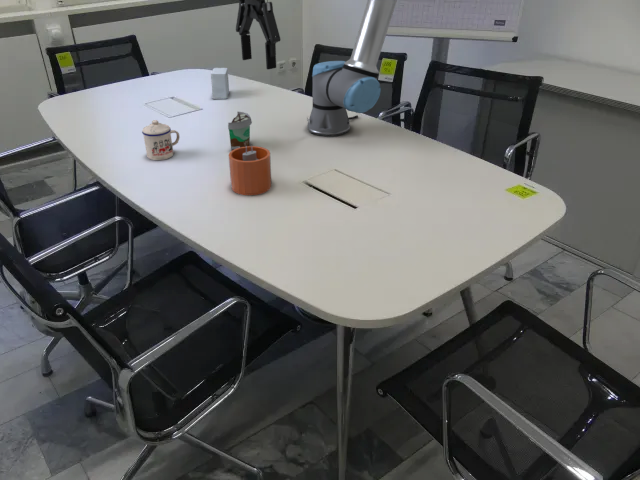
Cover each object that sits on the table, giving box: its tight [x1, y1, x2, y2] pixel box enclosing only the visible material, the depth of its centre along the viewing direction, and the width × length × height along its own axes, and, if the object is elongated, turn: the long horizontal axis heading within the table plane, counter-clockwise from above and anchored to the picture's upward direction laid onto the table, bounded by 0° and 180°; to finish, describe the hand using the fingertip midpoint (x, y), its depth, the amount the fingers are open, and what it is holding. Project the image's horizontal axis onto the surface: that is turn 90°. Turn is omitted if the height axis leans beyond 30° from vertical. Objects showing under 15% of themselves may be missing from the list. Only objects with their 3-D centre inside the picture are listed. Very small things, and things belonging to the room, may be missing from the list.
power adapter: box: [243, 143, 259, 161], centre depth 152 cm, size 3×5×12 cm, turn 125°
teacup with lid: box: [141, 119, 181, 161], centre depth 174 cm, size 12×9×12 cm
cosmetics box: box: [210, 67, 230, 100], centre depth 228 cm, size 10×6×10 cm, turn 179°
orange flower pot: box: [228, 145, 272, 196], centre depth 152 cm, size 12×12×10 cm
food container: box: [227, 111, 253, 152], centre depth 179 cm, size 12×6×10 cm, turn 168°
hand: (258, 63), depth 152 cm, fingers open, 13 cm apart
